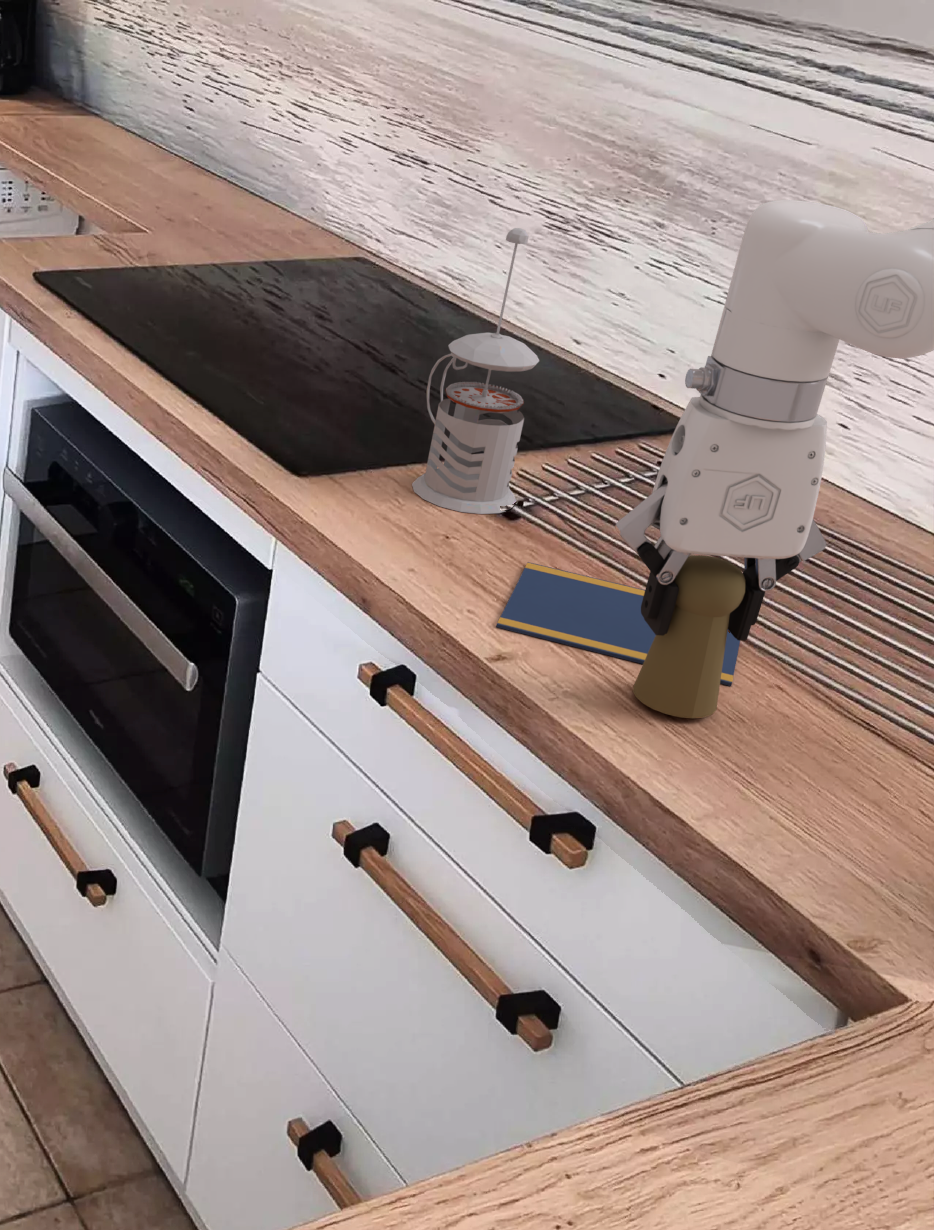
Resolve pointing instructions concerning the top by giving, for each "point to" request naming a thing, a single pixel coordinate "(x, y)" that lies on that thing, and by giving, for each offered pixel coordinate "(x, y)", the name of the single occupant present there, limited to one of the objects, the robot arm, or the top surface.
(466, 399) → the french press
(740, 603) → the robot arm
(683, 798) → the top surface
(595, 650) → the cloth
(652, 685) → the cork
